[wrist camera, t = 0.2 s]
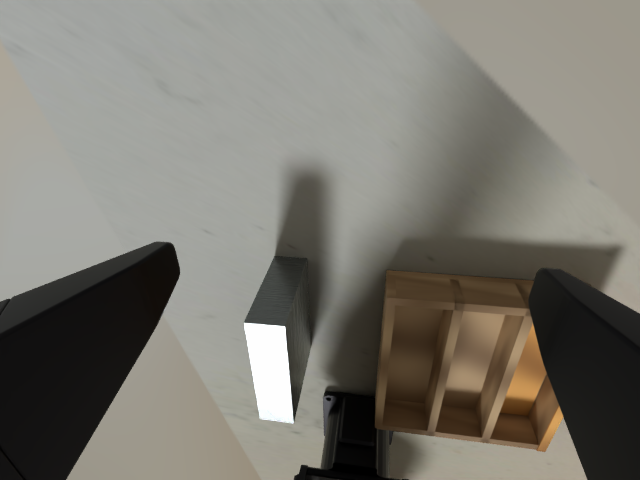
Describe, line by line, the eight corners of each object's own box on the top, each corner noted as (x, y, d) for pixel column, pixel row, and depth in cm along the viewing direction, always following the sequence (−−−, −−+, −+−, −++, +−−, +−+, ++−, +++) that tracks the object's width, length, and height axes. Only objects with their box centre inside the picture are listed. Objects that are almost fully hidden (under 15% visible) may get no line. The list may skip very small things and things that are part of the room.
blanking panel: (311, 346, 31) (293, 423, 26) (283, 343, 32) (259, 418, 26) (307, 257, 27) (284, 326, 21) (274, 255, 27) (243, 322, 21)
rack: (531, 415, 32) (545, 451, 29) (375, 397, 33) (374, 429, 31) (590, 284, 24) (615, 317, 22) (386, 270, 26) (386, 298, 24)
